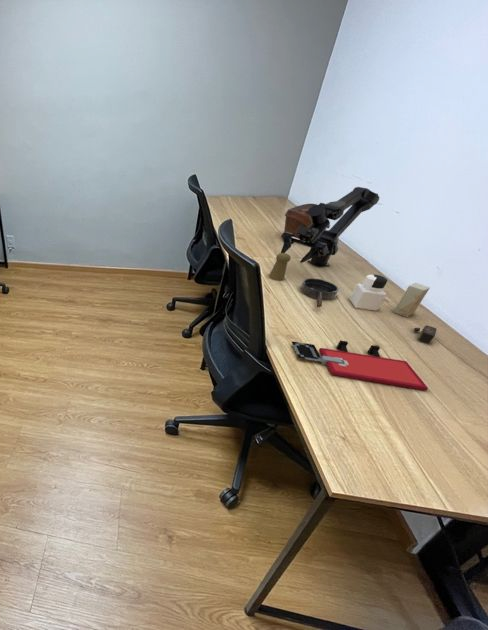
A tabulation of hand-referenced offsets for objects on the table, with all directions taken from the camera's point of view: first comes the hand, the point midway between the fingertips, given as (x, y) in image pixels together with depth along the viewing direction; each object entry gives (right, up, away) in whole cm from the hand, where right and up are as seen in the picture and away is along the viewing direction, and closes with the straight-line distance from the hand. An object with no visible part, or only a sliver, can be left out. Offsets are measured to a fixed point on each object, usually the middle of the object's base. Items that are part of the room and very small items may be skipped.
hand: (290, 258), depth 148 cm
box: (+26, -24, -23) cm, 43 cm away
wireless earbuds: (+20, -32, -36) cm, 52 cm away
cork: (-5, -8, +2) cm, 10 cm away
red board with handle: (-13, -39, -47) cm, 63 cm away
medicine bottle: (+16, -21, -18) cm, 32 cm away
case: (+31, +18, +43) cm, 56 cm away
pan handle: (-2, -19, -20) cm, 28 cm away
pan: (+4, -16, -10) cm, 19 cm away
